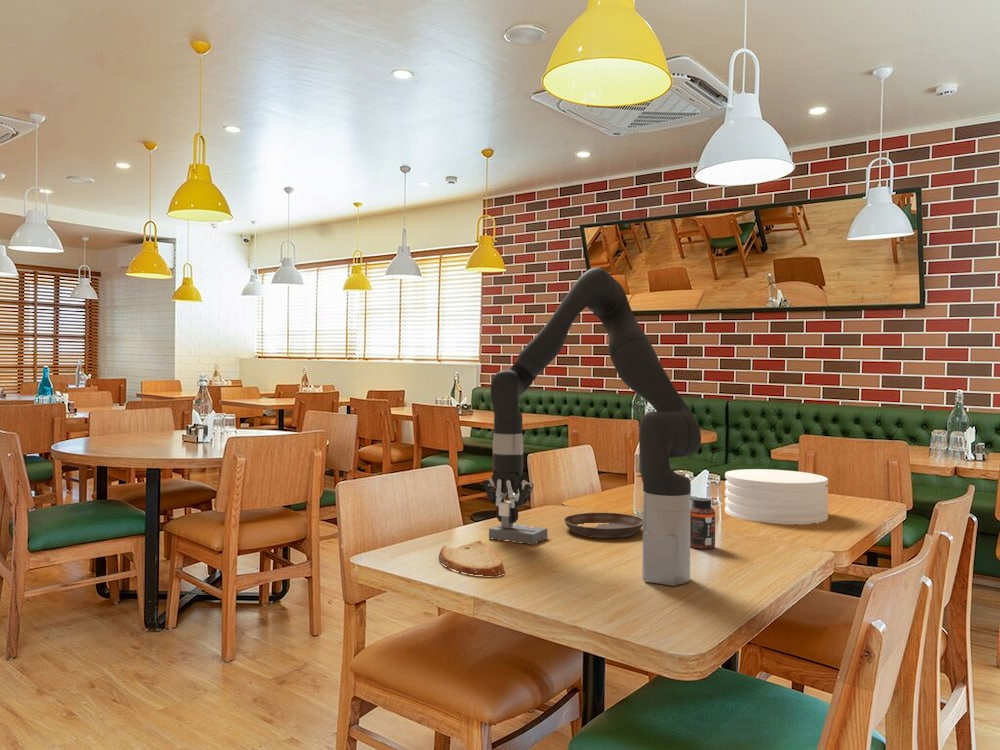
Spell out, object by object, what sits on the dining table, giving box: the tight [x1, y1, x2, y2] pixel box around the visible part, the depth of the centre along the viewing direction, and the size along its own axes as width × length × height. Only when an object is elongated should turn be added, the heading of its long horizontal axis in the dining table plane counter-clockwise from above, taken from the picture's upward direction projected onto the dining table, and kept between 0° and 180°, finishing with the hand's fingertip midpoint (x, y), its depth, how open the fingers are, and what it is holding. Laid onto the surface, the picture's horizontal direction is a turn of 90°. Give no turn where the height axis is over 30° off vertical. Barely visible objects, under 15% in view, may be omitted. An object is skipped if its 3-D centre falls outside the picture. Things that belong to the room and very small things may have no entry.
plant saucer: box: [563, 512, 643, 539], centre depth 183 cm, size 21×21×3 cm
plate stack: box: [724, 468, 829, 525], centre depth 206 cm, size 28×28×12 cm
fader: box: [499, 500, 514, 528], centre depth 174 cm, size 4×3×6 cm, turn 151°
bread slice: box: [438, 540, 506, 576], centre depth 151 cm, size 18×18×4 cm
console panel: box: [488, 523, 548, 545], centre depth 173 cm, size 8×12×3 cm, turn 61°
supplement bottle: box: [690, 497, 716, 550], centre depth 166 cm, size 6×6×11 cm
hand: (507, 521), depth 174 cm, fingers closed on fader, 2 cm apart
